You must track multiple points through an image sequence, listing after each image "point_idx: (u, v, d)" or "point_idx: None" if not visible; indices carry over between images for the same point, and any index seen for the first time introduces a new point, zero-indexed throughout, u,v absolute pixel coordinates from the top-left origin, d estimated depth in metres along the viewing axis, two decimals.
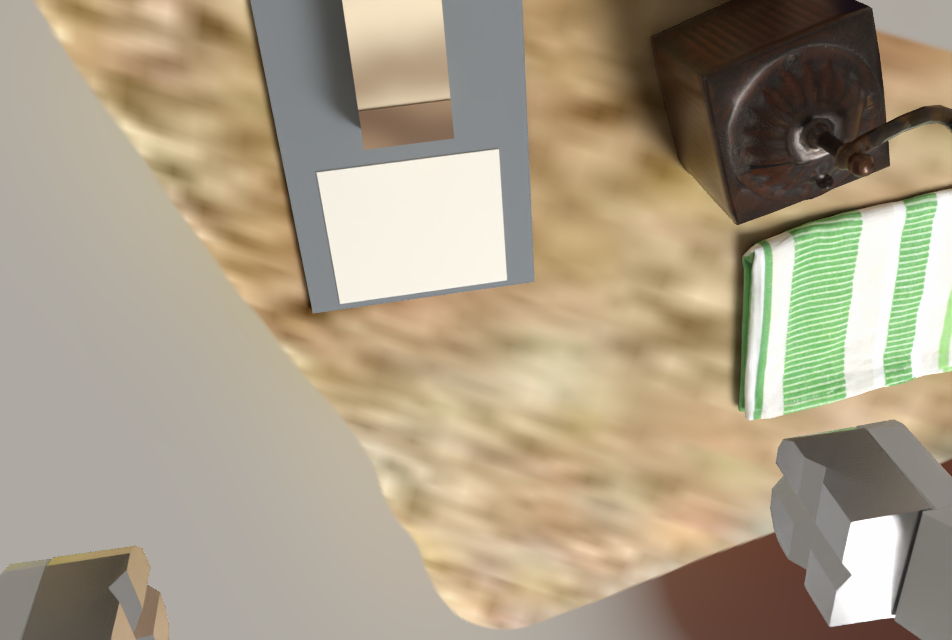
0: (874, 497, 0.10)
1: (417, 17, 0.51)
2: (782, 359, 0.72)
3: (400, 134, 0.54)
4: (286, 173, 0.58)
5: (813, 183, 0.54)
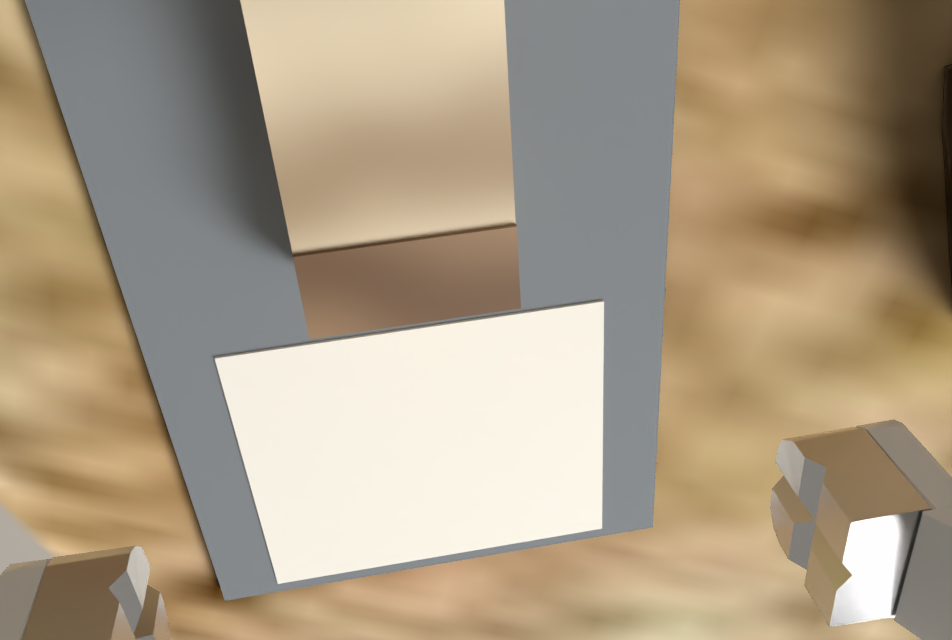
0: (874, 497, 0.10)
1: (440, 30, 0.20)
2: None
3: (395, 304, 0.23)
4: (148, 361, 0.27)
5: None
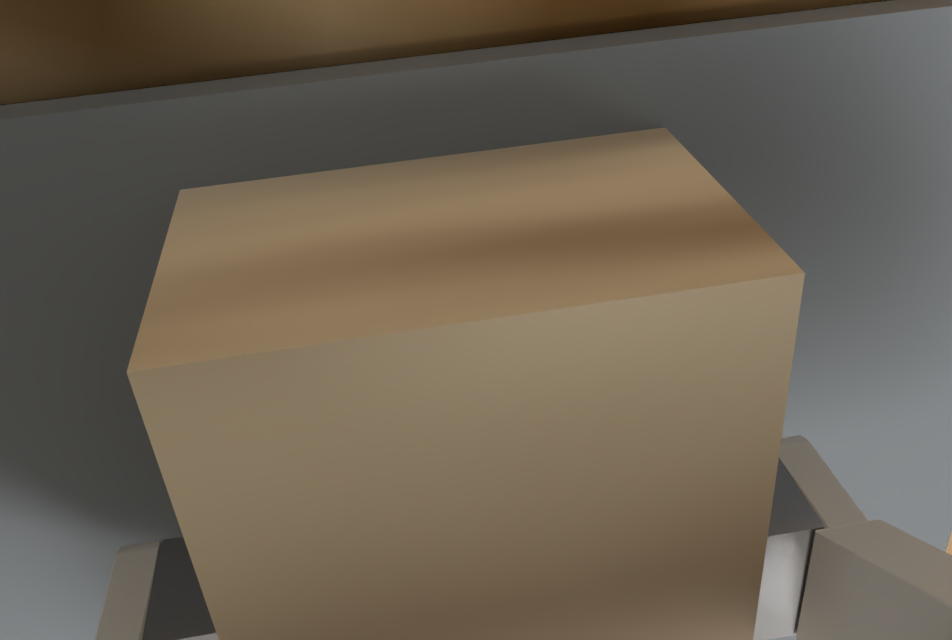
0: None
1: (633, 454, 0.08)
2: None
3: None
4: None
5: None
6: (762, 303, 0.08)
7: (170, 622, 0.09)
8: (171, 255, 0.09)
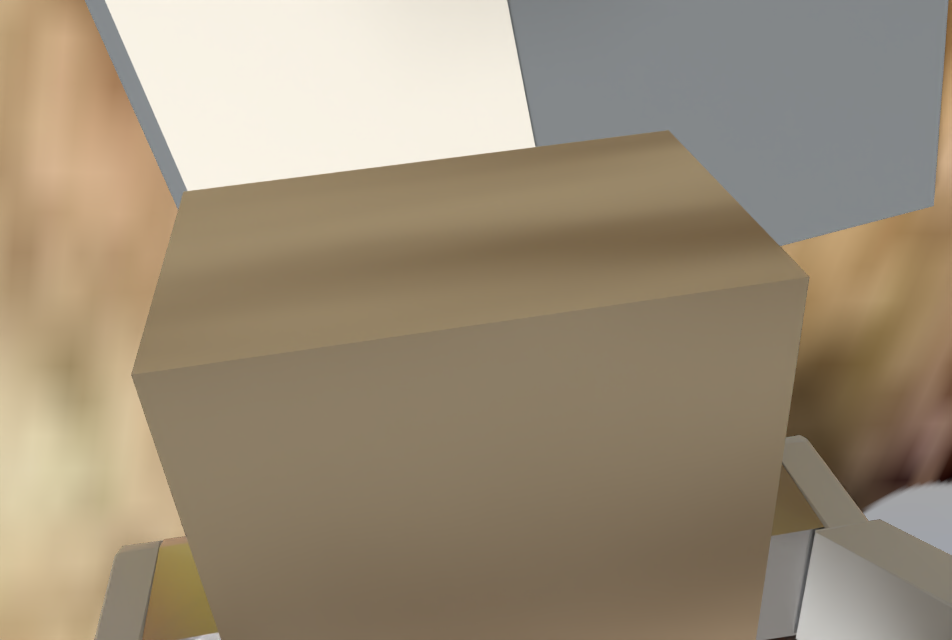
0: None
1: (637, 458, 0.08)
2: None
3: None
4: None
5: None
6: (767, 306, 0.08)
7: (171, 621, 0.09)
8: (175, 257, 0.09)
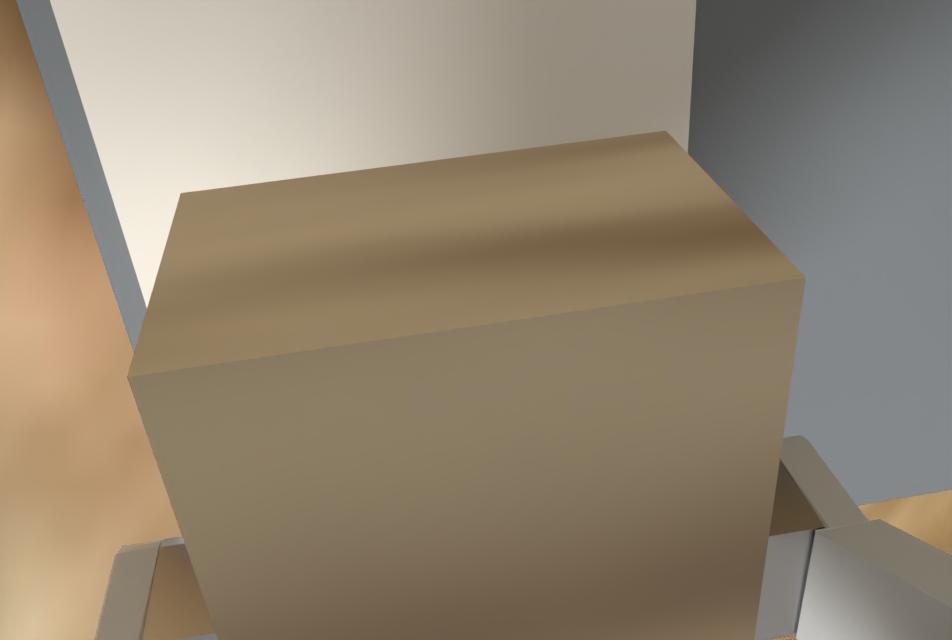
0: None
1: (633, 459, 0.08)
2: None
3: None
4: None
5: None
6: (763, 308, 0.08)
7: (170, 622, 0.09)
8: (172, 259, 0.09)
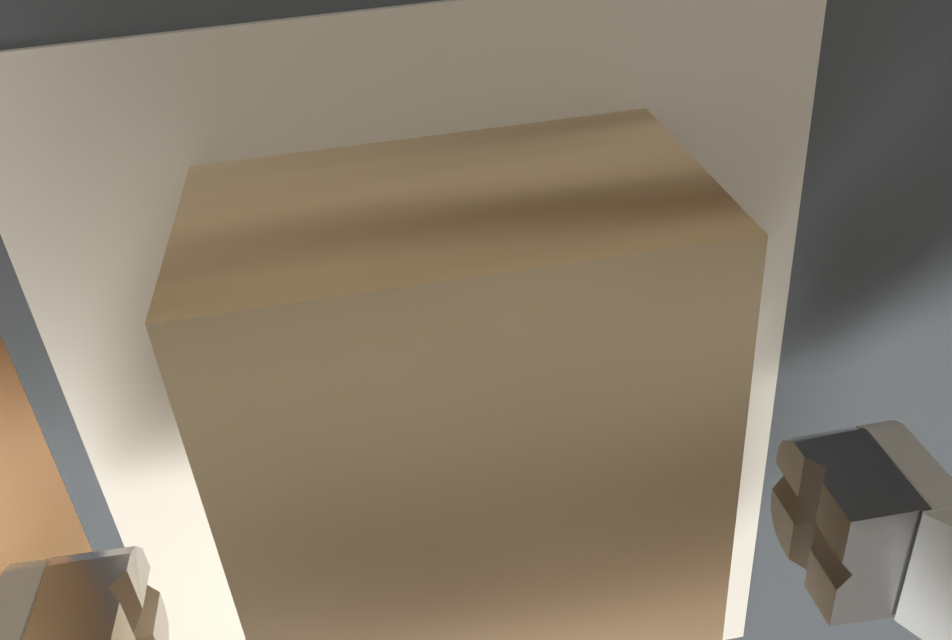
0: (874, 497, 0.10)
1: (613, 407, 0.09)
2: None
3: None
4: None
5: None
6: (728, 262, 0.08)
7: None
8: (183, 224, 0.09)
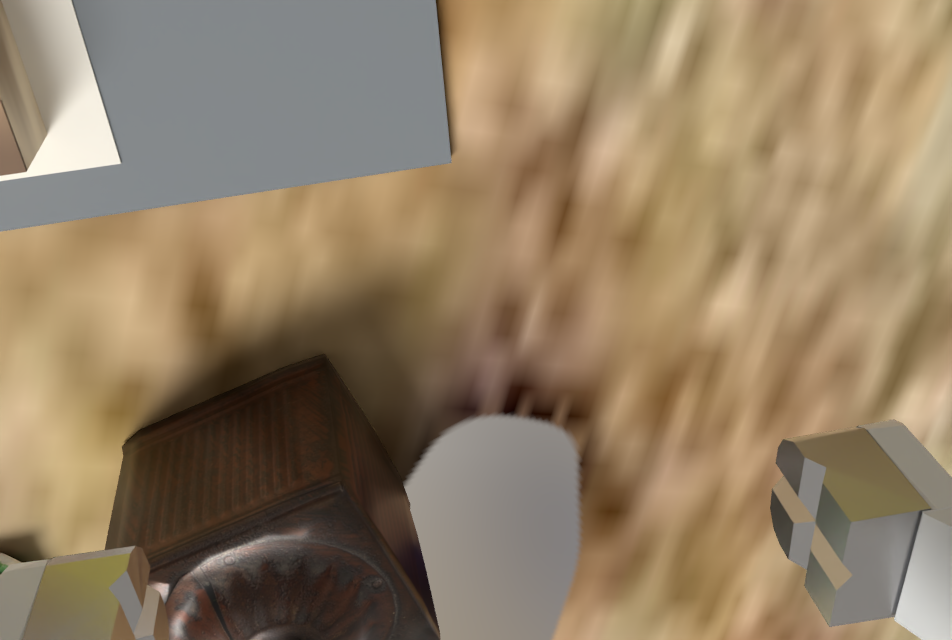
0: (874, 497, 0.10)
1: None
2: None
3: None
4: None
5: None
6: None
7: None
8: None
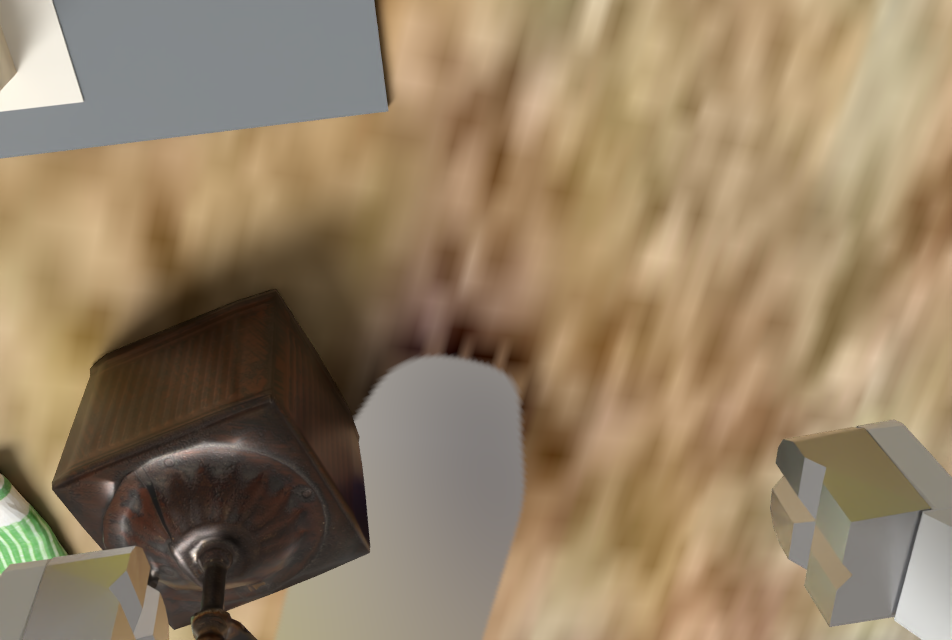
0: (874, 497, 0.10)
1: None
2: None
3: None
4: None
5: None
6: None
7: None
8: None
